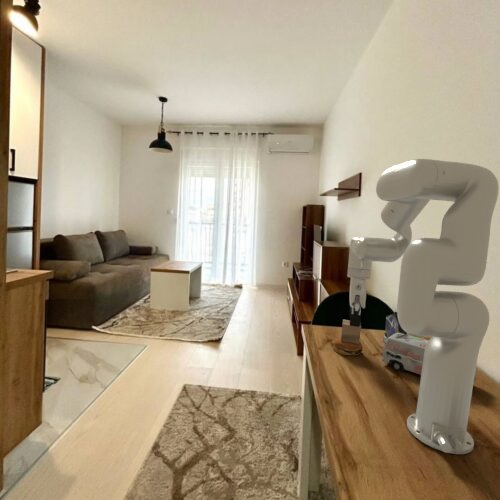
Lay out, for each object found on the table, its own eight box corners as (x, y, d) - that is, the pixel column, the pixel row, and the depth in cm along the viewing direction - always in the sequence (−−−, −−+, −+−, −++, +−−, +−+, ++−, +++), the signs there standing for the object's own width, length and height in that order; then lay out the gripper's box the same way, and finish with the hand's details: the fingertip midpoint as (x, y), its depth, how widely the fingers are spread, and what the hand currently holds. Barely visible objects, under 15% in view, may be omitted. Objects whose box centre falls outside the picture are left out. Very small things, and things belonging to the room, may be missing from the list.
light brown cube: (359, 344, 110) (361, 326, 110) (340, 340, 112) (342, 323, 112) (358, 338, 116) (360, 322, 116) (341, 335, 118) (343, 319, 117)
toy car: (469, 397, 89) (474, 362, 88) (379, 365, 105) (382, 335, 104) (476, 385, 96) (481, 353, 96) (391, 357, 113) (394, 329, 112)
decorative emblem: (403, 359, 112) (409, 316, 110) (396, 358, 112) (402, 316, 110) (388, 346, 123) (393, 307, 122) (382, 345, 123) (387, 307, 122)
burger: (328, 350, 115) (329, 337, 114) (340, 344, 121) (342, 332, 121) (354, 360, 108) (356, 346, 108) (366, 353, 115) (367, 340, 114)
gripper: (372, 277, 102) (367, 331, 103) (368, 272, 119) (364, 318, 120) (347, 275, 104) (342, 327, 105) (347, 270, 121) (343, 315, 122)
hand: (354, 322), depth 112 cm, fingers open, 9 cm apart
